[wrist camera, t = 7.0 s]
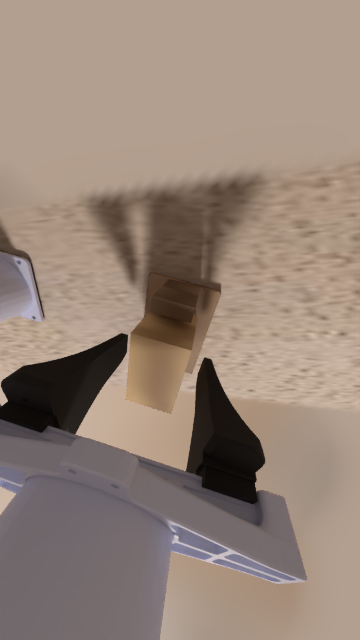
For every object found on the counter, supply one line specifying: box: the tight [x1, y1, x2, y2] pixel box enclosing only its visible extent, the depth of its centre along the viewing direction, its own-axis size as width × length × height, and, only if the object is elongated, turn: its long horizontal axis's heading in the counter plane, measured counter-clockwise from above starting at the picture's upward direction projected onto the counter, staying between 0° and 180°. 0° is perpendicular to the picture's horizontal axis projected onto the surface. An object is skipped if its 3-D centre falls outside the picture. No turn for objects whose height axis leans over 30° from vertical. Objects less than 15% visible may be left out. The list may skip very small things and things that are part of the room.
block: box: [126, 311, 198, 414], centre depth 14 cm, size 4×7×5 cm, turn 168°
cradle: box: [144, 272, 221, 374], centre depth 16 cm, size 7×11×6 cm, turn 168°
